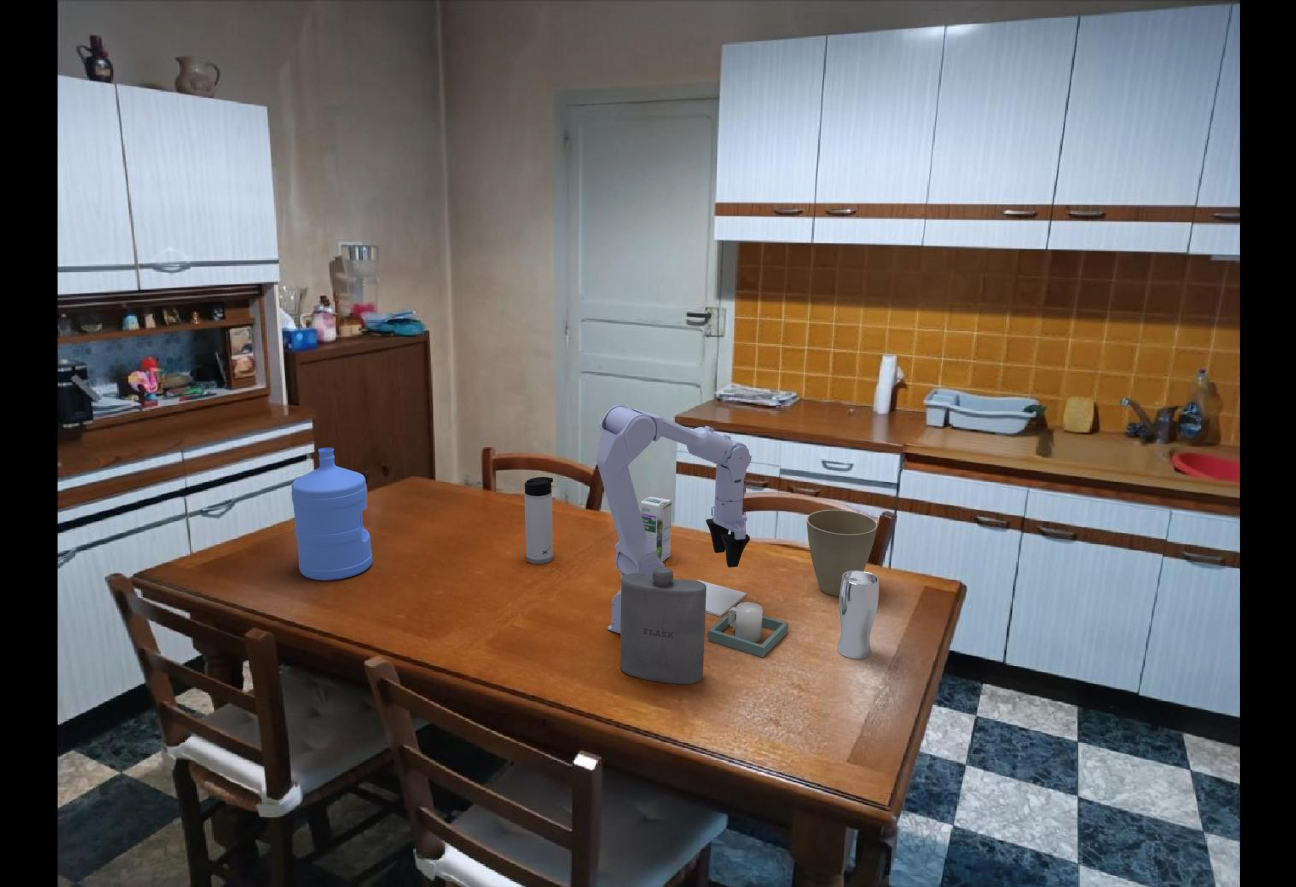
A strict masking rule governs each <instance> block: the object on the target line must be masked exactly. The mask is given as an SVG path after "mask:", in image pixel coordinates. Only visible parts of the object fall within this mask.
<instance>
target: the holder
mask: <svg viewBox="0 0 1296 887" xmlns="http://www.w3.org/2000/svg"><path fill="white" fill-rule="evenodd" d="M728 616H729V612H727V614H725V615H723V616H722V618H721V619H719V621H717V622H716V623H715V624H714V625H712V627H710V628H709V629H708V630H707V641H709V642H712V643H715V644H718V645H722V646H725V647H729V648H732V649H735V650H738V651H741V652H744V653H747V654H750V655H754V656H757V657H760V658H764V657H765V656H767V655H768V653H769V652H770V651H771V650H772V649H773V648H774V647H775V646H776V645H777V644H778V643H779V642H780V641H781V640H782V639H783V638H784V637H785V635H787V634H788V632H789V622H786V621H782V620H780V619H776V618H772V617H769V616H766V615H763V614H762V628H765V629H768V630H772V631H774V632H772V634H771V635H770V636H769V637H767V639H766V640H765V641H764V642H763V643H762V644H761V643H757V642H751V641H747V640H744V639H741V638H738V637H735V636H734V635H730V634H727V633H724V631H725V630H726V629H727V628H728V627H730V624H728ZM735 621H736V614H735Z"/></svg>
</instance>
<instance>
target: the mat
mask: <svg viewBox="0 0 1296 887" xmlns="http://www.w3.org/2000/svg"><path fill="white" fill-rule="evenodd" d="M697 581H700V582H702V583H704V584H705V585H706V612H705V614H709V615H713V616H716V617H719V618H721V617H722V618H723V617H724V616H725V615H726V613H728V612H729V610H730V609H731V608H733V607H736V606H737V605H738V604H739V602H741V601H742V600H743V599H744V598H745V597H747V592H743V591H740V590H736V589H733V588H728V587H725V586H722V585H718V584H714V583H710V582H706V581H703V580H701V579H697Z"/></svg>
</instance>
